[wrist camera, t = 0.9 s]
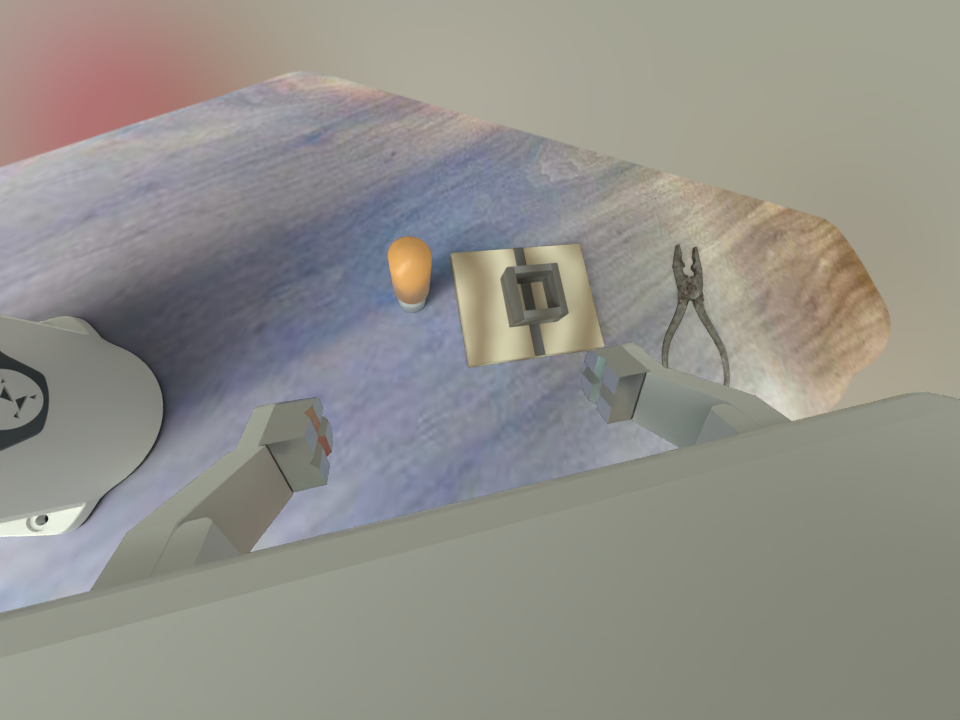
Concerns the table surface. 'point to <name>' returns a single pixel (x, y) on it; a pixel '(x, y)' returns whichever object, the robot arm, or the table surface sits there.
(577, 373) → the table surface
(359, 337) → the table surface
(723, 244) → the table surface
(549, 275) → the cream rectangular base board
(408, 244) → the orange rounded handle
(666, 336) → the pliers
